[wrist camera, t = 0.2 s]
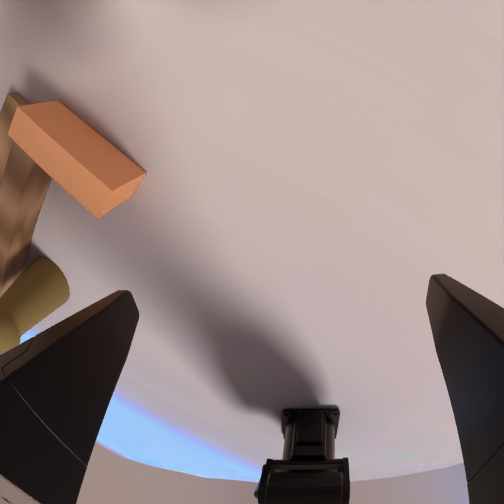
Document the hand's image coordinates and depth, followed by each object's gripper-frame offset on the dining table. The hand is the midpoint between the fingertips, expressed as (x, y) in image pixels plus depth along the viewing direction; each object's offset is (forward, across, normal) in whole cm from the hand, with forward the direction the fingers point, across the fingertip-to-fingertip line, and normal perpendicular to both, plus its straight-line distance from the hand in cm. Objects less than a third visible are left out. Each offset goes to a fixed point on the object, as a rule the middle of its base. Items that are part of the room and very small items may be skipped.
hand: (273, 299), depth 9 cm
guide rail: (+14, +25, 0) cm, 29 cm away
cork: (+14, +27, +8) cm, 31 cm away
